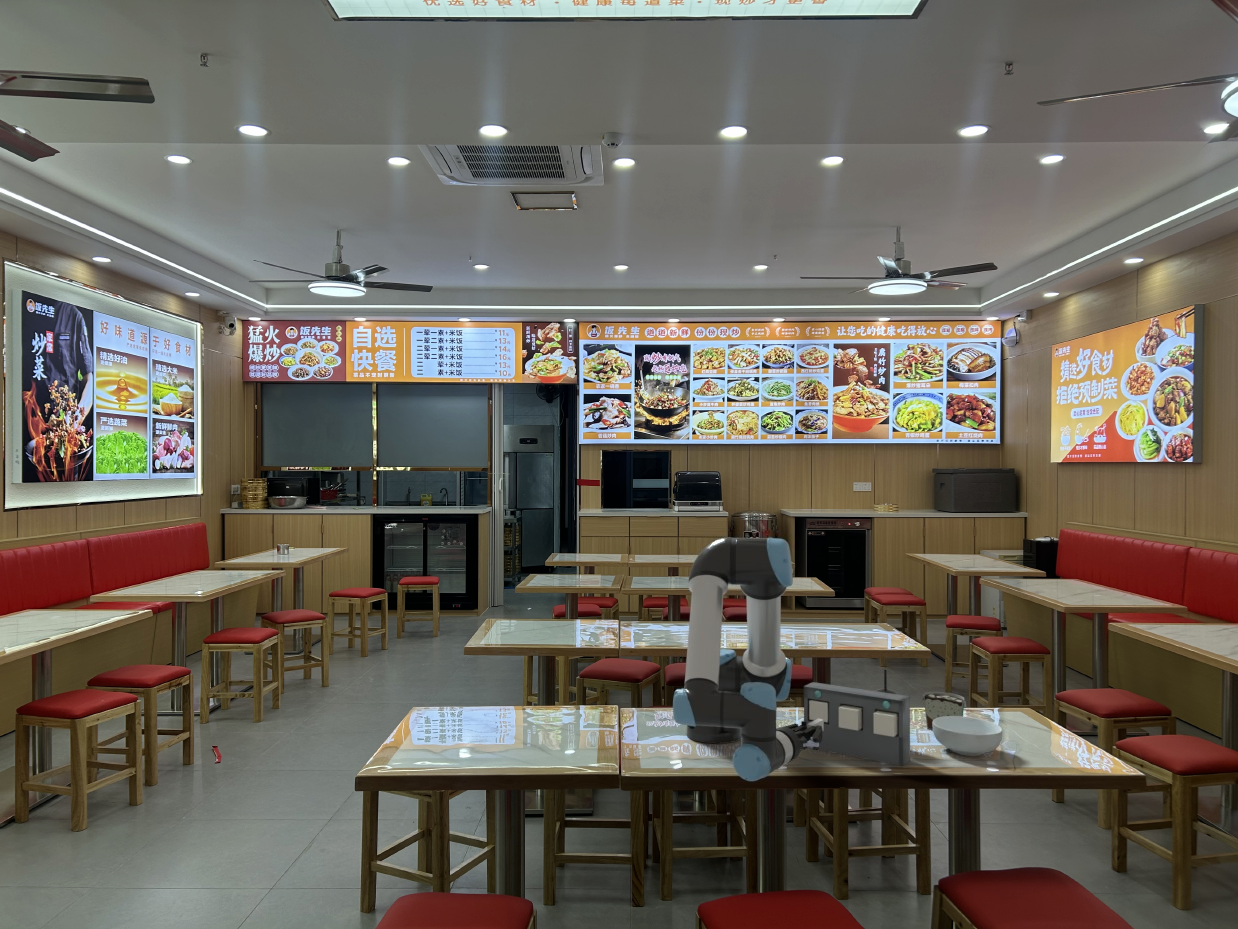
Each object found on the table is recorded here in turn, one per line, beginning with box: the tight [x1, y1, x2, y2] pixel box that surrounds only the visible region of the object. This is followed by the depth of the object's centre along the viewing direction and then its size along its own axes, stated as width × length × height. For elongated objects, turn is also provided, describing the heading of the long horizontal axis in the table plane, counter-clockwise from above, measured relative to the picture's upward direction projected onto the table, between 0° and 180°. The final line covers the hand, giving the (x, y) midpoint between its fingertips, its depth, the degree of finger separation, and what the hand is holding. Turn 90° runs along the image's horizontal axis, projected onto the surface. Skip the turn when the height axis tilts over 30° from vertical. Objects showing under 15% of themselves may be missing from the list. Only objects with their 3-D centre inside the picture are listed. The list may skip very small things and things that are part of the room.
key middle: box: [839, 704, 863, 731], centre depth 212 cm, size 4×5×5 cm
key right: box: [874, 710, 899, 737], centre depth 207 cm, size 4×5×5 cm
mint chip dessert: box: [921, 691, 968, 731], centre depth 237 cm, size 12×6×10 cm, turn 47°
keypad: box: [803, 681, 911, 767], centre depth 215 cm, size 6×26×16 cm, turn 55°
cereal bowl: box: [932, 715, 1003, 757], centre depth 217 cm, size 17×17×7 cm
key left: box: [809, 699, 829, 722], centre depth 220 cm, size 4×5×5 cm
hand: (820, 724), depth 204 cm, fingers closed
